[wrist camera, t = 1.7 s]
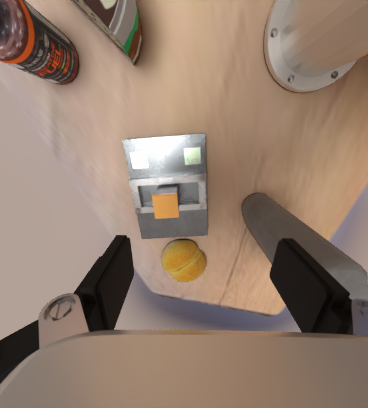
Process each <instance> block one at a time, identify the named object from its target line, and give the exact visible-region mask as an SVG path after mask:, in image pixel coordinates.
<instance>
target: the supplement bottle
mask: <svg viewBox="0 0 368 408" xmlns="http://www.w3.org/2000/svg"><path fill="white" fill-rule="evenodd" d="M0 61H1V62H4V63H6V64H8V65H11V66H13V67H16V68H18V69H21V70H23V71H25V72H28V73H30V74H33V75H35V76H38V77H40V78H42V79H45V80H47V81H50V82H53V83H56V84H66V83H68V82H70V81H71V80H72V79H73V78H74V77H75V75H76V73H77V70H78V58H77V53H76V50H75V48H74V46H73V45H72V43H71V41H70V40H69V39H68V38H67V36H66V35H65V34H63V33H62V32H61V31H60V30H59V29H58V28H57V27H55V26H54V25H53V24H52V23H51V22H50V21H48V20H47V19H46V18H45V17H44V16H43V15H41V14H40V13H39V12H38V11H37V10H36V9H34V8H33V7H32V6H31V5H30V4H29V3H27V2H26V1H25V0H0Z"/></svg>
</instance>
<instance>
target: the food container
mask: <svg viewBox="0 0 368 408" xmlns="http://www.w3.org/2000/svg"><path fill="white" fill-rule="evenodd" d="M71 1H72V2H73V3H74V4H75V5H76V6H77V7H78V8H79V9H80V11H81V12H82V13H83V14H84V15H85V16H86V17H87V18H88V19H89V20H90V21H91V22H92V23H93V24H94V25H95V26H96V27H97V28H98V29H99V30H100V31H101V32H102V33H103V34H104V35H105V36H106V37H107V38H108V39H109V40H110V41H111V42H112V43H113V44H114V45H115V46H116V47H117V48H118V49H119V50H120V52H121V53H122V54H123V55H124V56H125V57H126V58H127V59H128V60H129V61H130V62H131V63H132V64H133V65H134V66H135V64H136V62H137V60H138V58H139V55H140V51H141V47H142V26H141V22H140V18H139V14H138V10H137V6H136V0H71Z"/></svg>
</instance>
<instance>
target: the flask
mask: <svg viewBox="0 0 368 408" xmlns="http://www.w3.org/2000/svg"><path fill="white" fill-rule="evenodd" d="M242 215H243V218H244V221H245V223H246V225H247V227H248V229H249V231H250V232H251V234H252V235H253V237H254V238H255V240H256V241H257V243H258V244H259V246H260V247H261V249H262V250H263V252H264V253H265V255H266V256H267V258H268V259H269V261H270V262H271V264H272V263H273V259H274V256H275V252H276V248H277V244H278V241H280V240H281V239H282V238H293V239H294V240H295V241H296V242H297V243H298V244H300V245H301V246H302V247H303V248H304V249H305V250H306V251H307V252H308V253H309V254H310V255H311V256H312V257H313V258H314V259H315V260H316V261H317V262H318V263H319V264H320V265H321V266H322V267H323V268H324V269H325V270H326V271H328V272H329V273H330V274H331V275H332V276H333V277H334V278H335V279H336V280H337V281H338V282H339V283H340V284H341V285H342V286H343V287H344V288H345V289H346V290H347V291H348V292H349V293H350V296H349V298H350V299H351V300H354V299H364V300H368V278H367V277H368V276H367V273H366V271H365V270H364V269H363V267H362V266H361V265H359V264H358V263H357V262H355V261H354V260H353V259H351V258H350V257H349V256H347V255H346V254H345V253H343V252H342V251H341V250H339V249H338V248H337V247H335V246H334V245H332V244H331V243H330V242H329V241H327V240H326V239H324V238H323V237H322V236H320V235H319V234H318V233H316V232H315V231H314V230H312V229H311V228H310V227H308V226H307V225H306V224H304V223H303V222H302V221H300V220H299V219H298V218H296V217H295V216H294V215H292V214H291V213H290V212H288V211H287V210H285V209H284V208H283V207H281V206H280V205H279V204H277V203H276V202H275V201H273V200H272V199H271V198H269V197H268V196H267V195H265V194H262V193H255V194H252V195H250V196H248V197H247V198H246V199H245V200H244V202H243V204H242Z"/></svg>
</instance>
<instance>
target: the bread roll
mask: <svg viewBox="0 0 368 408" xmlns="http://www.w3.org/2000/svg"><path fill="white" fill-rule="evenodd" d="M161 261H162V266H163V268H164V269H165V270H166V271H167V272H168V273H169V274H170V275H171V276H172V277H173V278H174V279H176V280H177V281H180V282H189V281H192V280H194V279H196V278H197V277H199V276H201V275H202V274H203V273H204V270H205V268H206V259H205V256H204V255H203V253H202V252H201V251H200V250H199V249H198V247H197V245H196V244H195V243H194V242H193V241H190V240H176V241H172V242H171V243H169V244H168V245H167V246H166V248H165V249H164V251H163V253H162V259H161Z"/></svg>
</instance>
